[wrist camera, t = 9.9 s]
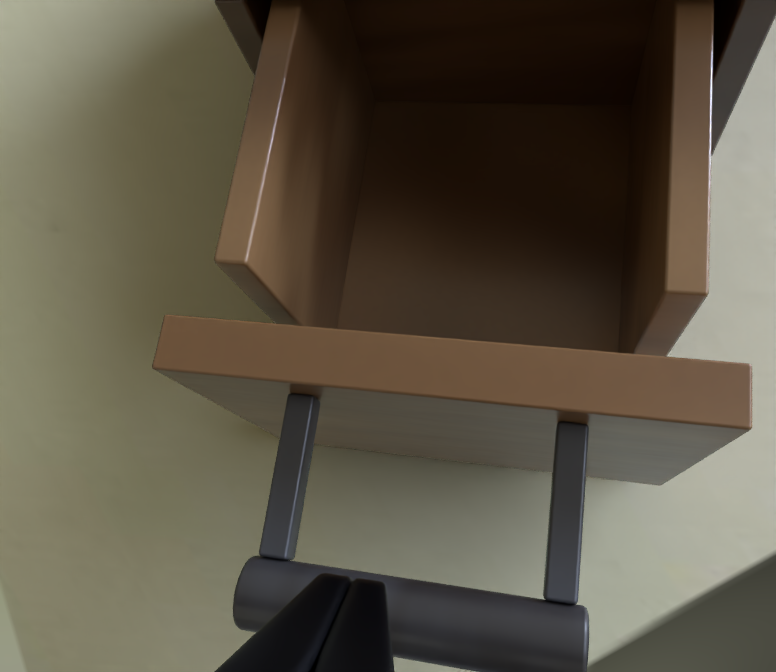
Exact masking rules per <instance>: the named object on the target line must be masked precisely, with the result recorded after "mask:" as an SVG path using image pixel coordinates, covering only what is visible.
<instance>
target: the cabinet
mask: <svg viewBox="0 0 776 672" xmlns="http://www.w3.org/2000/svg"><path fill="white" fill-rule="evenodd" d="M271 2H272V0H215V4H216V6H217V7H218V9H219V11H220V13H221V15H222V17H223V19H224V20H225V22H226V24H227V26H228V28H229V30H230V32H231V33H232V35H233V37H234V39H235V41H236V43H237V44H238V46H239V48H240V50H241V52H242V54H243V56H244V57H245V59H246V61H247V63H248V65H249V67H250V69H251V70H252V72H253V74H254V76H255V73H256V69H257V64H258V60H259V55H260V51H261V46H262V42H263V37H264V33H265V28H266V24H267V20H268V15H269V11H270V6H271ZM775 16H776V0H714V37H713V89H712V142H711V157H712V154H713V152H714V150H715V148H716V146H717V143H718V141H719V139H720V137H721V135H722V133H723V130H724V128H725V126H726V124H727V122H728V119H729V117H730V115H731V113H732V111H733V108H734V106H735V104H736V102H737V100H738V97H739V95H740V93H741V91H742V89H743V87H744V84H745V82H746V80H747V78H748V76H749V73H750V71H751V69H752V67H753V65H754V62H755V60H756V58H757V56H758V54H759V51H760V49H761V47H762V45H763V43H764V41H765V38H766V36H767V34H768V32H769V30H770V27H771V25H772V23H773V21H774V19H775Z"/></svg>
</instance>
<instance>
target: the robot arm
mask: <svg viewBox="0 0 776 672" xmlns="http://www.w3.org/2000/svg"><path fill="white" fill-rule="evenodd" d="M215 672H394V664H393V653H392V643H391V632H390V622H389V611H388V600H387V590H386V585H385V583H383V582H382V581H376V580H370V579H363V578H356V579H354V580H352V579H351V578H350V577H348V576H344V575H337V574H331V573H321V574H319V575H318V576H316V577H315V578H314V579H313V580H312V581H311V582H310V583H309V584H308V585H307V586H306V587H305V588H303V589H302V590H301V591H300V592H299V593H298V594H297V595H296V596H295V597H294V598H293V599H292V600H291V601H290V602H288V603H287V604H286V605H285V606H284V607H283V608H282V609H281V610H280V611H279V612H278V613H277V614H276V615H275V616H274V617H272V618H271V619H270V620H269V621H268V622H267V623H266V624H265V625H264V626H263V627H262V628H261V629H260V630H259V631H257V632H256V633H255V634H254V635H253V636H252V637H251V638H250V639H249V640H248V641H247V642H246V643H245V644H244V645H242V646H241V647H240V648H239V649H238V650H237V651H236V652H235V653H234V654H233V655H232V656H231V657H230V658H229V659H228V660H226V661H225V662H224V663H223V664H222V665H221V666H220V667H219V668H218V669H217V670H216V671H215Z"/></svg>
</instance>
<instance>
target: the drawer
mask: <svg viewBox="0 0 776 672" xmlns="http://www.w3.org/2000/svg"><path fill="white" fill-rule="evenodd" d="M713 37H714V0H272V2H271V6H270V11H269V15H268V20H267V24H266V28H265V33H264V37H263V42H262V46H261V51H260V55H259V60H258V64H257V69H256V73H255V78H254V82H253V87H252V91H251V96H250V100H249V104H248V109H247V113H246V118H245V122H244V127H243V131H242V136H241V140H240V145H239V149H238V154H237V158H236V163H235V167H234V172H233V176H232V180H231V185H230V189H229V194H228V198H227V203H226V207H225V212H224V216H223V221H222V225H221V230H220V234H219V239H218V243H217V248H216V252H215V256H214V261H215V263H216V264H217V265H218V266H219V267H220V268H221V269H222V270H223V271H224V272H225V273H226V274H227V275H228V276H229V277H230V278H231V279H232V280H233V281H234V282H235V283H236V284H237V285H238V286H239V287H240V288H241V289H242V290H243V291H244V292H245V293H246V294H247V295H248V296H249V297H250V298H251V299H252V300H253V301H254V302H255V303H256V304H257V305H258V306H259V307H260V308H261V309H262V310H263V311H264V312H265V313H266V314H267V315H268V316H269V317H270V318H271V319H272V320H273V321H274V322H275V323H276V324H274V323H262V322H250V321H238V320H227V319H215V318H203V317H191V316H179V315H165V316H164V319H163V323H162V327H161V332H160V336H159V340H158V344H157V348H156V353H155V357H154V361H153V365H152V368H153V369H154V370H156V371H158V372H159V373H161V374H163V375H165V376H167V377H169V378H170V379H172V380H174V381H176V382H178V383H179V384H181V385H183V386H185V387H187V388H189V389H190V390H192V391H194V392H196V393H198V394H200V395H201V396H203V397H205V398H207V399H209V400H210V401H212V402H214V403H216V404H218V405H220V406H221V407H223V408H225V409H227V410H229V411H231V412H232V413H234V414H236V415H238V416H240V417H241V418H243V419H245V420H247V421H249V422H251V423H252V424H254V425H256V426H258V427H260V428H261V429H263V430H265V431H267V432H269V433H271V434H272V435H274V436H276V437H278V438H280V440H279V446H278V451H277V457H276V462H275V468H274V473H273V478H272V484H271V489H270V495H269V500H268V506H267V511H266V517H265V522H264V528H263V533H262V539H261V544H260V550H259V555H260V556H253V557H251V558H249V559H248V560H247V562H246V563H245V565H244V566H243V568H242V571H241V573H240V575H239V578H238V581H237V585H236V589H235V594H234V601H233V617H234V622H235V624H236V626H237V627H238V628H239V629H241V630H245V631H251V632H257V631H259V630H260V629H261V628H262V627H263V626H264V625H265V624H266V623H267V622H268V621H269V620H270V619H271V618H272V617H274V616H275V615H276V614H277V613H278V612H279V611H280V610H281V609H282V608H283V607H284V606H285V605H286V604H287V603H288V602H290V601H291V600H292V599H293V598H294V597H295V596H296V595H297V594H298V593H299V592H300V591H301V590H302V589H303V588H305V587H306V586H307V585H308V584H309V583H310V582H311V581H312V580H313V579H314V578H315V577H316V576H318V575H319V574H321V573H331V574H337V575H344V576H348V577H350V578H351V579H352V580H354V579H356V578H363V579H370V580H376V581H382V582H383V583H385V585H386V590H387V600H388V611H389V622H390V632H391V643H392V653H393V657H398V658H403V659H409V660H415V661H420V662H426V663H432V664H437V665H443V666H449V667H454V668H460V669H466V670H471V671H477V672H587V662H588V648H589V615H588V611H587V608H586V607H584V606H582V605H576V604H577V602H578V590H579V575H580V559H581V544H582V528H583V513H584V497H585V481H586V477H593V478H601V479H610V480H618V481H627V482H635V483H643V484H652V485H662V484H664V483H665V482H667V481H669V480H670V479H672V478H674V477H675V476H677V475H678V474H680V473H682V472H683V471H685V470H686V469H688V468H690V467H691V466H693V465H695V464H696V463H698V462H699V461H701V460H703V459H704V458H706V457H707V456H709V455H711V454H712V453H714V452H715V451H717V450H719V449H720V448H722V447H724V446H725V445H727V444H728V443H730V442H732V441H733V440H735V439H736V438H738V437H740V436H741V435H743V434H744V433H746V432H748V431H749V430H751V428H752V366H751V364H747V363H735V362H724V361H712V360H700V359H688V358H676V357H666V356H667V355H668V353H669V352H670V350H671V349H672V347H673V346H674V344H675V343H676V341H677V340H678V339H679V337H680V336H681V334H682V333H683V331H684V330H685V328H686V327H687V325H688V324H689V322H690V321H691V319H692V318H693V316H694V315H695V313H696V312H697V310H698V309H699V307H700V306H701V304H702V303H703V301H704V300H705V298H706V297H707V295H708V293H709V248H710V195H711V142H712V89H713ZM314 444H315V445H324V446H332V447H340V448H349V449H357V450H366V451H374V452H383V453H391V454H399V455H408V456H416V457H425V458H433V459H441V460H450V461H458V462H467V463H475V464H484V465H492V466H500V467H509V468H517V469H526V470H534V471H542V472H551V473H552V486H551V499H550V512H549V525H548V538H547V551H546V564H545V577H544V590H543V596H544V599H546V600H543V599H537V598H530V597H524V596H517V595H511V594H504V593H498V592H491V591H485V590H478V589H472V588H465V587H459V586H452V585H446V584H439V583H433V582H426V581H420V580H413V579H407V578H400V577H394V576H387V575H381V574H374V573H368V572H361V571H355V570H348V569H342V568H335V567H329V566H322V565H316V564H309V563H303V562H296V561H290V560H293V559H294V557H295V552H296V546H297V540H298V534H299V528H300V522H301V516H302V510H303V505H304V499H305V493H306V487H307V481H308V475H309V469H310V463H311V457H312V451H313V446H314Z"/></svg>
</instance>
